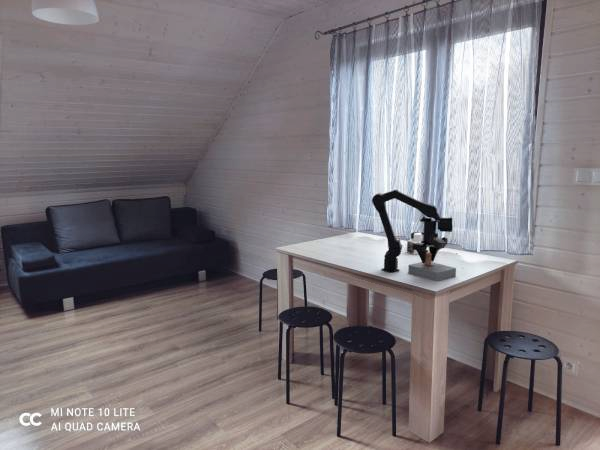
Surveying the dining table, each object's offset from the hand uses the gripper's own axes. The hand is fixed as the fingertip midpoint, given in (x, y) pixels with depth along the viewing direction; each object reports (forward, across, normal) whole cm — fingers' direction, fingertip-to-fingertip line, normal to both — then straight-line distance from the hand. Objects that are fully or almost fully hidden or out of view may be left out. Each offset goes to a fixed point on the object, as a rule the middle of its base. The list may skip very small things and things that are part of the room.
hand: (427, 262), depth 217 cm
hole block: (+5, 0, -3) cm, 6 cm away
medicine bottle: (+6, +29, +32) cm, 44 cm away
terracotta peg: (+6, 0, 0) cm, 6 cm away
